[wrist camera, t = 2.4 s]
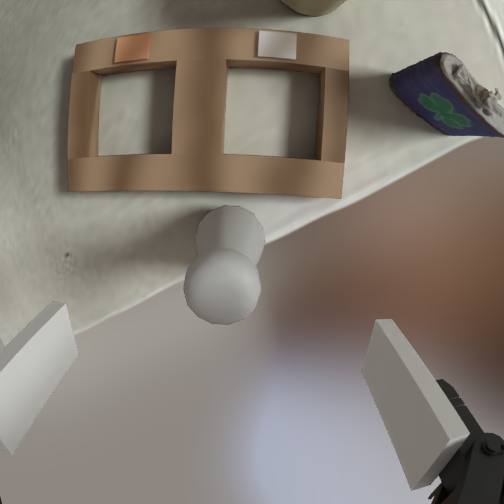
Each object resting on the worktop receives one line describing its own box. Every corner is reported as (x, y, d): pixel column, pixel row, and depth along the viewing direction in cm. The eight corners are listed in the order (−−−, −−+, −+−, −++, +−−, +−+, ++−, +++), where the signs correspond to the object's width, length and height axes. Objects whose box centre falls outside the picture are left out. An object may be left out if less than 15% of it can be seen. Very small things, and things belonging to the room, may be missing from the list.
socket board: (81, 187, 27) (66, 192, 24) (87, 51, 23) (74, 44, 20) (333, 194, 28) (342, 199, 25) (341, 48, 23) (350, 39, 21)
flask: (460, 122, 25) (531, 122, 15) (450, 144, 26) (522, 151, 16) (393, 67, 24) (456, 38, 14) (382, 89, 24) (444, 67, 14)
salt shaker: (199, 260, 30) (168, 338, 17) (200, 199, 28) (163, 241, 15) (261, 263, 30) (270, 344, 17) (266, 202, 28) (280, 247, 16)
